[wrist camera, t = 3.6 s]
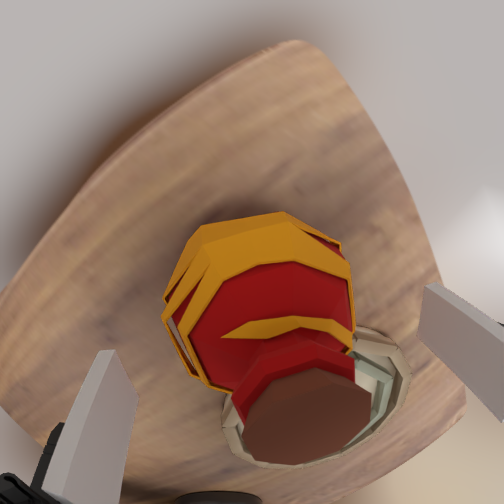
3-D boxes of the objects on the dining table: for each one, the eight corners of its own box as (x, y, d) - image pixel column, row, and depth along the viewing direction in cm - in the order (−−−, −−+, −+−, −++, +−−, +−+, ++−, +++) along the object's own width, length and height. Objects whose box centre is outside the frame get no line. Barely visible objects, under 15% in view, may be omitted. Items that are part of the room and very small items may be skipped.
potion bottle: (325, 206, 21) (490, 277, 6) (299, 328, 23) (378, 475, 9) (182, 187, 19) (98, 239, 5) (173, 320, 22) (145, 493, 7)
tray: (241, 463, 29) (244, 480, 26) (201, 352, 23) (201, 373, 20) (383, 423, 30) (392, 436, 28) (408, 301, 24) (424, 314, 22)
